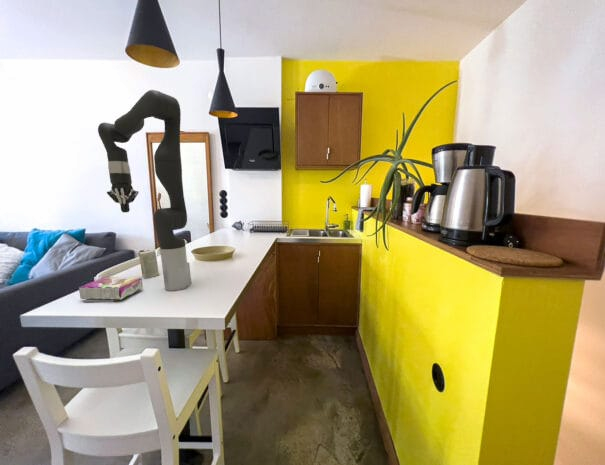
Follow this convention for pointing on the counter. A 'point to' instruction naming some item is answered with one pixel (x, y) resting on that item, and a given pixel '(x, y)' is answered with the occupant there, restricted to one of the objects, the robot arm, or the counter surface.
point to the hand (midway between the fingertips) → (125, 212)
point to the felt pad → (98, 300)
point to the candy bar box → (111, 288)
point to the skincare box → (148, 264)
